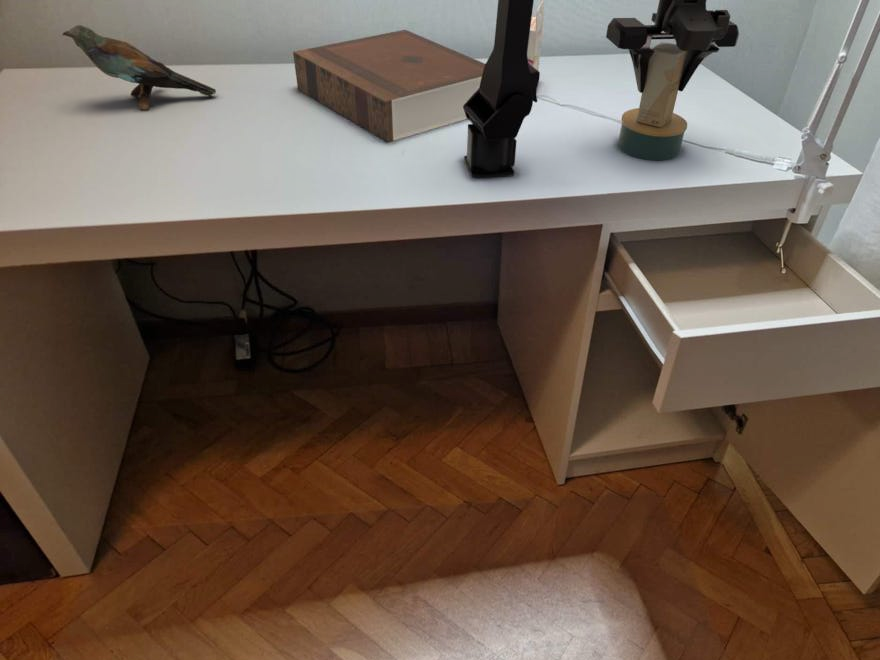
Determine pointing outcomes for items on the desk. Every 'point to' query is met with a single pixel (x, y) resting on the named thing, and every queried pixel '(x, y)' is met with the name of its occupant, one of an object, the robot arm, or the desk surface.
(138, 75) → the bird figurine
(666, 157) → the tin
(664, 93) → the box
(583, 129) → the desk surface
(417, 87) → the book
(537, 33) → the ink cartridge box
